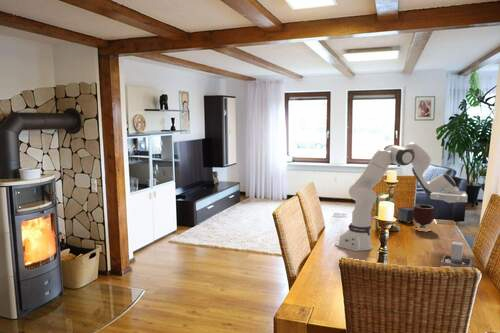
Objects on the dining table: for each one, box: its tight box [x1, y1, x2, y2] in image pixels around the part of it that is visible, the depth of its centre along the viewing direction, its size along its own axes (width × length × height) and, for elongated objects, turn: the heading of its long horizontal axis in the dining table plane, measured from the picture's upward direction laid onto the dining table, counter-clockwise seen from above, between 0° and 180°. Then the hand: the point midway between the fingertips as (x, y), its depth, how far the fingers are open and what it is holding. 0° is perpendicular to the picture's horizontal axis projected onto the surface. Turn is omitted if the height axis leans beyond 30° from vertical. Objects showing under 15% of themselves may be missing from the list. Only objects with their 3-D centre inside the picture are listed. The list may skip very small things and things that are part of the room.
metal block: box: [450, 240, 464, 265], centre depth 211 cm, size 5×5×12 cm
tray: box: [440, 254, 474, 268], centre depth 212 cm, size 14×14×4 cm
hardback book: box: [374, 192, 394, 230], centre depth 290 cm, size 18×7×24 cm, turn 146°
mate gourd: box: [412, 203, 435, 228], centre depth 282 cm, size 16×14×20 cm
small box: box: [397, 206, 414, 223], centre depth 306 cm, size 11×6×10 cm, turn 22°
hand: (447, 199), depth 233 cm, fingers open, 8 cm apart
